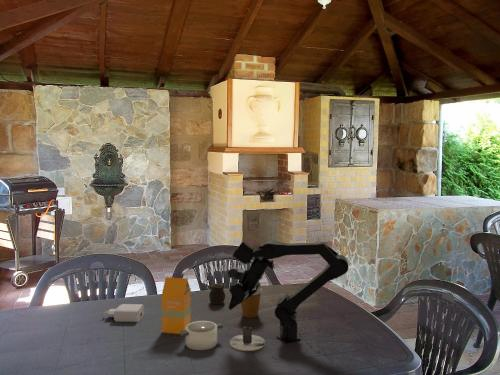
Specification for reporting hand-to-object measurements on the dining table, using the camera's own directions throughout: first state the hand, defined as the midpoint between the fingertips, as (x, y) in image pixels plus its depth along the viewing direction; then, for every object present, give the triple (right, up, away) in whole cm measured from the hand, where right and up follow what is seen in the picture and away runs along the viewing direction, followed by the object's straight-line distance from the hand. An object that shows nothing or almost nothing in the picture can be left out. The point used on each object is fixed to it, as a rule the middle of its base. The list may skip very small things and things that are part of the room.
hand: (234, 306), depth 168 cm
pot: (-11, -11, -7) cm, 17 cm away
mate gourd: (-9, -8, +35) cm, 37 cm away
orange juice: (-22, -10, +5) cm, 25 cm away
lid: (+5, -12, -7) cm, 14 cm away
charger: (-46, -10, +16) cm, 49 cm away
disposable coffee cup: (+6, -9, +21) cm, 23 cm away
